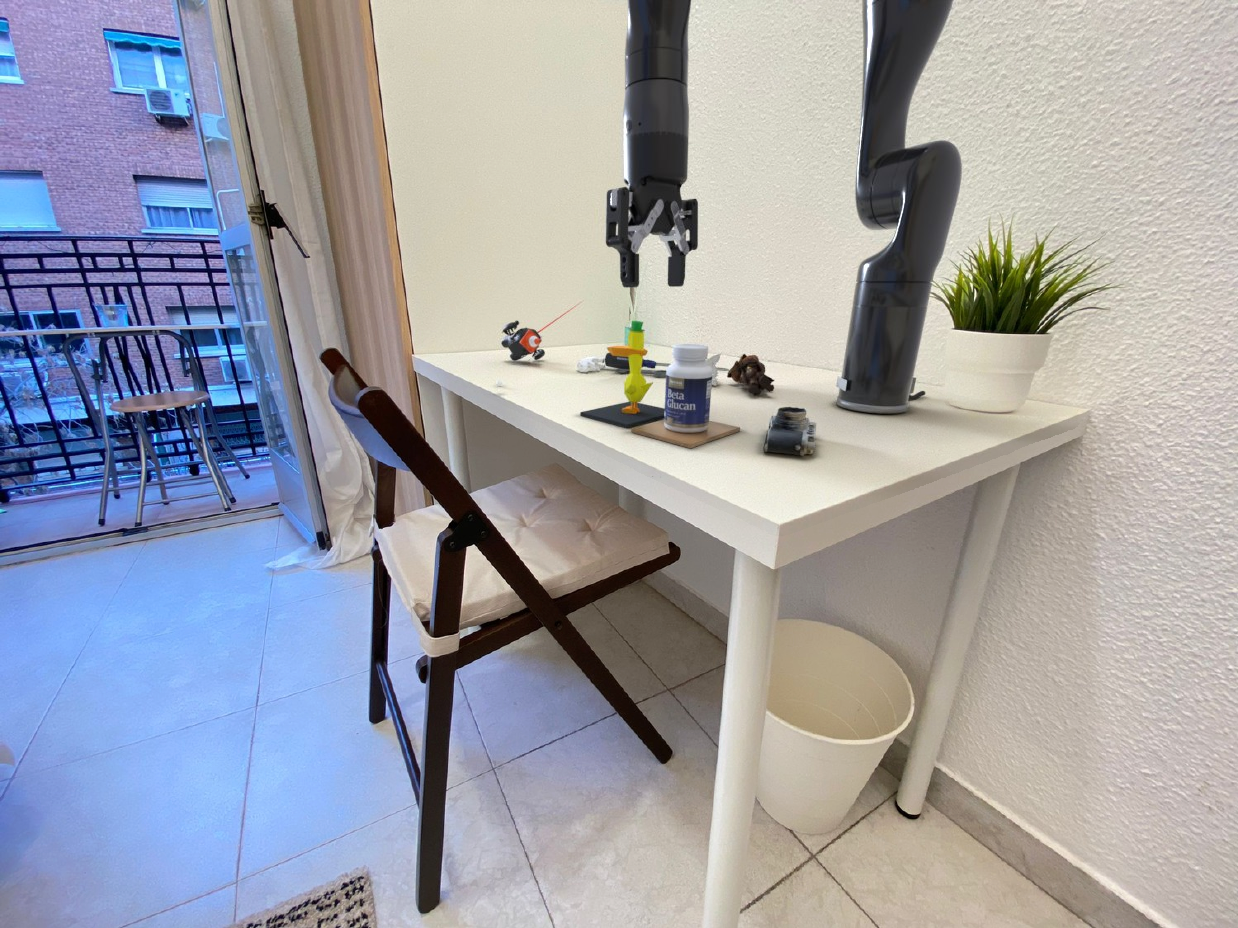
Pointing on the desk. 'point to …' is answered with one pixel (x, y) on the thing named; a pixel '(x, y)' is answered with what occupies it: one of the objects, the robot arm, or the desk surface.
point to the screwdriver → (623, 363)
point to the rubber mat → (625, 414)
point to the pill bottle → (688, 389)
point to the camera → (790, 432)
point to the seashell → (713, 367)
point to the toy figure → (633, 366)
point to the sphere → (499, 383)
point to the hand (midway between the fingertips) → (654, 287)
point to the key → (646, 372)
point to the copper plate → (685, 439)
